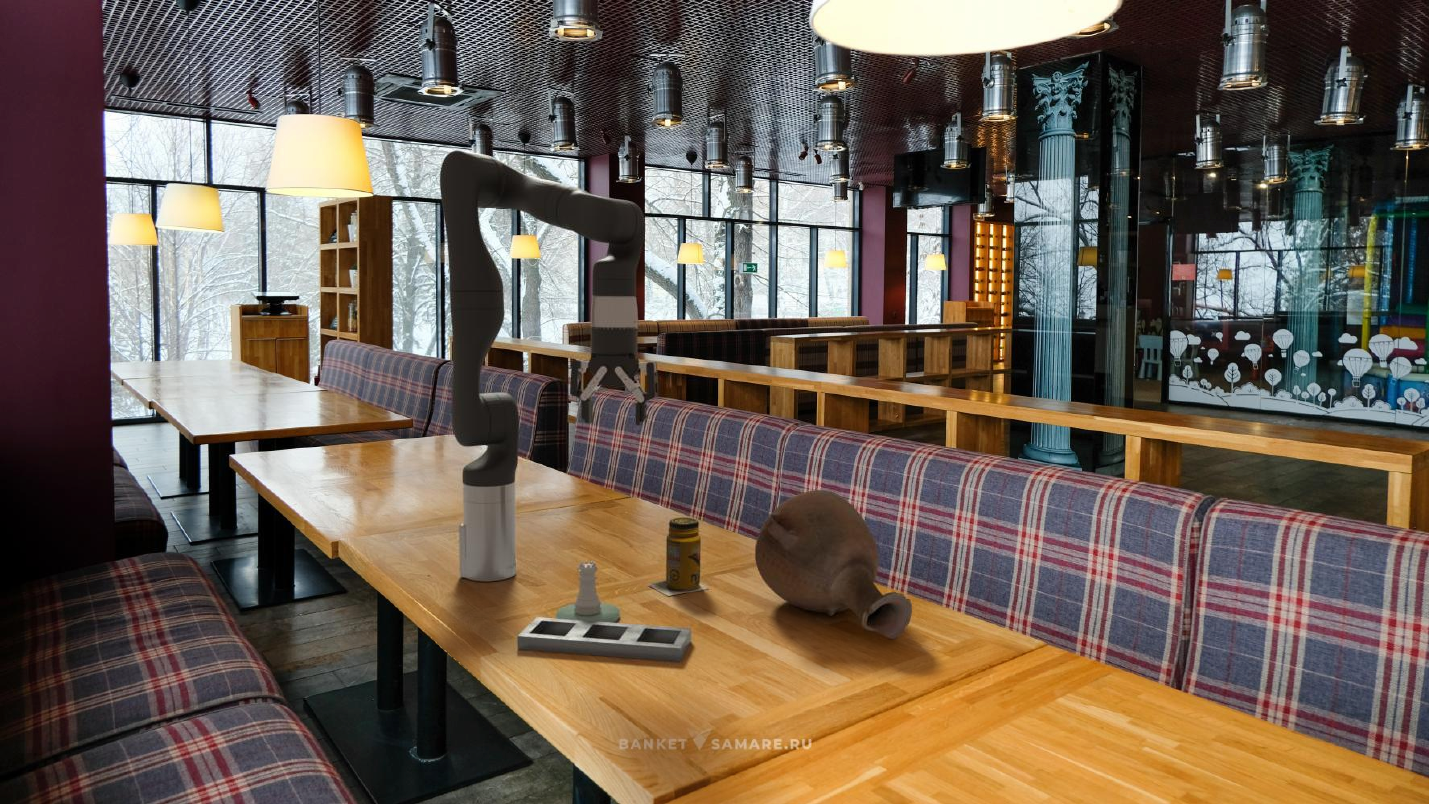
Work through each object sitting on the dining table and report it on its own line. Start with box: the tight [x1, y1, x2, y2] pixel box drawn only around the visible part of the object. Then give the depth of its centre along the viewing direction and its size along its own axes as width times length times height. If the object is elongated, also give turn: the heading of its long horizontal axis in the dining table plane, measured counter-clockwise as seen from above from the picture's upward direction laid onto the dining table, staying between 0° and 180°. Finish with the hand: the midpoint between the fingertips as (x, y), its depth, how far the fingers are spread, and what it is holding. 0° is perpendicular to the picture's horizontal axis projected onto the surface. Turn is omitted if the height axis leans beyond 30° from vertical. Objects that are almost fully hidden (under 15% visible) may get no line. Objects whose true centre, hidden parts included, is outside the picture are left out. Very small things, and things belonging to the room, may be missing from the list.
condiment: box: [647, 517, 710, 597], centre depth 163 cm, size 7×8×12 cm
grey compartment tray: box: [517, 616, 692, 663], centre depth 136 cm, size 24×8×2 cm, turn 81°
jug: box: [754, 489, 913, 640], centre depth 149 cm, size 20×20×30 cm
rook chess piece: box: [573, 560, 602, 616], centre depth 148 cm, size 4×4×8 cm
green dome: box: [555, 602, 621, 623], centre depth 148 cm, size 10×10×1 cm
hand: (614, 423), depth 152 cm, fingers open, 8 cm apart
